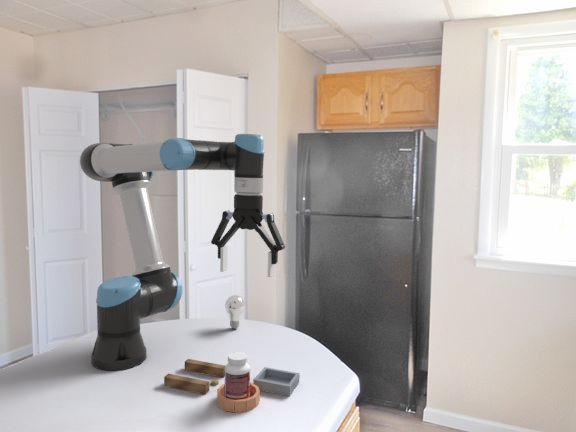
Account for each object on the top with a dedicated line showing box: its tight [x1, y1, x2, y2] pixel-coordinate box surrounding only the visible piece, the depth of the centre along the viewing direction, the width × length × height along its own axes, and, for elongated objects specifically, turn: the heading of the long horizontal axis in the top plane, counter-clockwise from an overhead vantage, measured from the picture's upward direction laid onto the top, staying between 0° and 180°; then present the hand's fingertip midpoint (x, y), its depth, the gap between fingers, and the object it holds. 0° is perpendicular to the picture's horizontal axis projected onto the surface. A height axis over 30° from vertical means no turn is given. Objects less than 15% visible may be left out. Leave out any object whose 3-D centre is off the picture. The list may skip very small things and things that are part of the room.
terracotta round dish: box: [216, 381, 261, 413], centre depth 115 cm, size 10×10×3 cm
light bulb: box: [224, 294, 246, 330], centre depth 163 cm, size 7×7×12 cm
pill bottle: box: [224, 351, 251, 400], centre depth 114 cm, size 6×6×11 cm
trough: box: [252, 366, 301, 397], centre depth 123 cm, size 10×8×3 cm
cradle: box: [163, 358, 226, 395], centre depth 125 cm, size 12×12×2 cm
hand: (246, 273), depth 125 cm, fingers open, 13 cm apart
